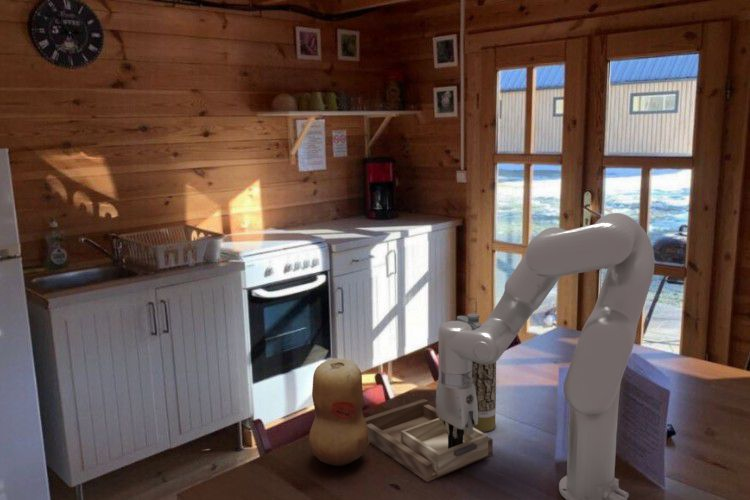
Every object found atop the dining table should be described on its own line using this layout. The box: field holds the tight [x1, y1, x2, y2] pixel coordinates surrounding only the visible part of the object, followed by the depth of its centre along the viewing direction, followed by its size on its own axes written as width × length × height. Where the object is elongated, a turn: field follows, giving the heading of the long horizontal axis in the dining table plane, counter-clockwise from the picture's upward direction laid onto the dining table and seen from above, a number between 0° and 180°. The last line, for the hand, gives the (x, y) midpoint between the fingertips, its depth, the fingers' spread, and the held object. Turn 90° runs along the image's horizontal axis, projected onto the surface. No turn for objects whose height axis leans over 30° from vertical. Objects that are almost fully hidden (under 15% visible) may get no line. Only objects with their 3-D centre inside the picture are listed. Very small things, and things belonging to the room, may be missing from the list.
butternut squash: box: [308, 357, 370, 467], centre depth 153 cm, size 14×13×25 cm
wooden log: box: [472, 361, 497, 433], centre depth 168 cm, size 7×7×25 cm
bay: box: [364, 398, 494, 483], centre depth 161 cm, size 26×20×5 cm
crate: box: [401, 418, 489, 475], centre depth 155 cm, size 15×15×5 cm
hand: (455, 450), depth 152 cm, fingers closed
